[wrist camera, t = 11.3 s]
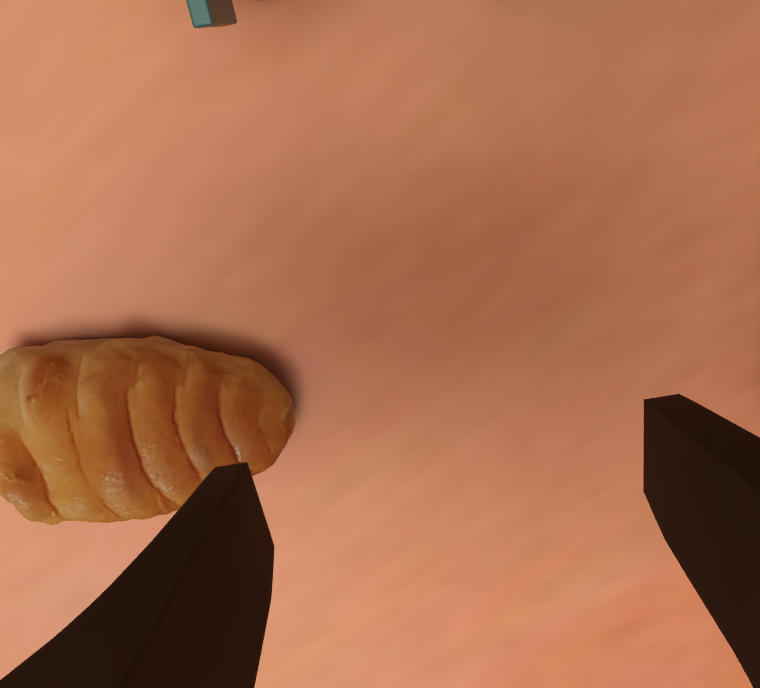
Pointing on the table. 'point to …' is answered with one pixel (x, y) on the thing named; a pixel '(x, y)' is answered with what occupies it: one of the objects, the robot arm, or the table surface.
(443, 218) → the table surface
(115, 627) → the robot arm
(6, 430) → the pastry
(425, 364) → the table surface
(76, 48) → the table surface
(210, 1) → the marker
